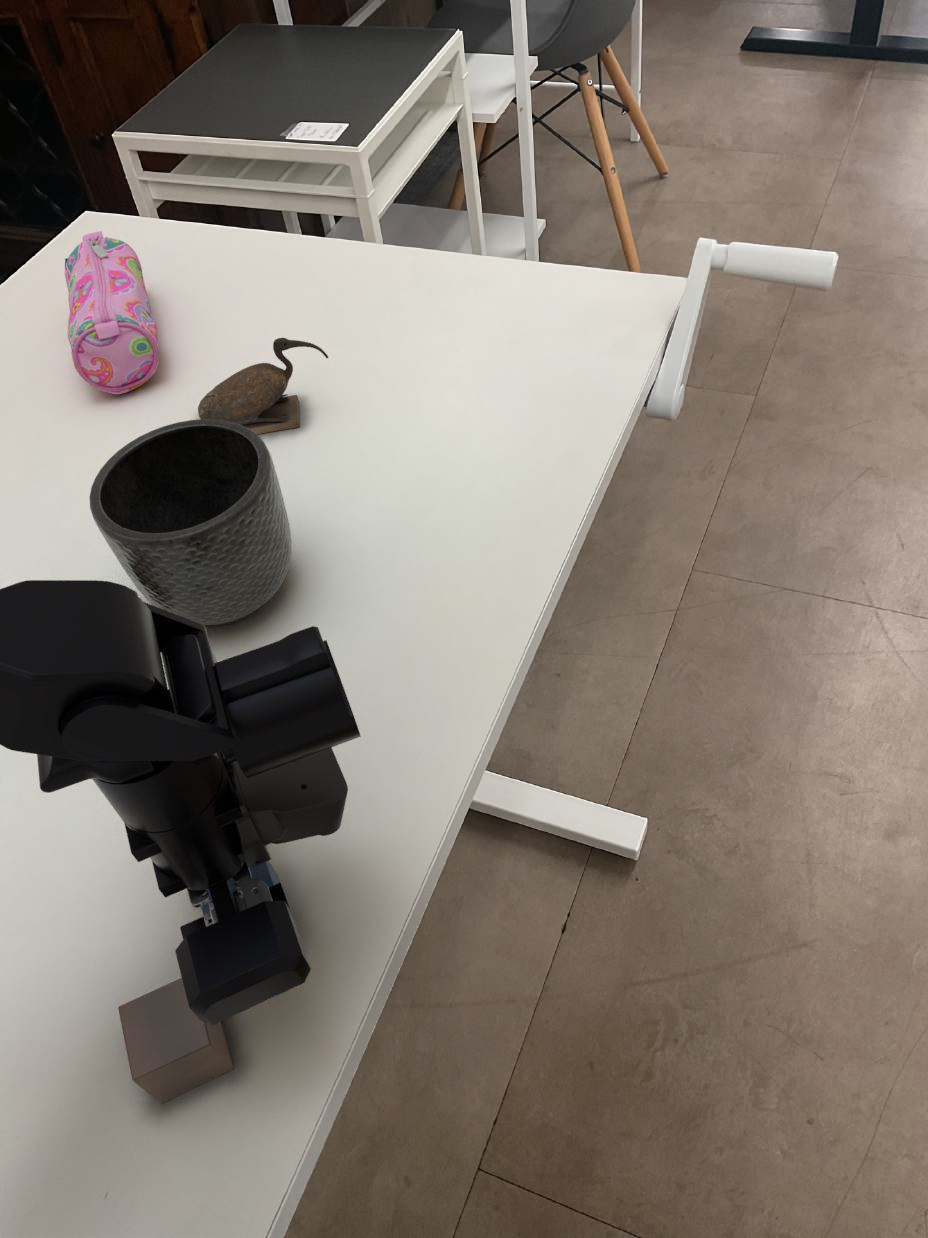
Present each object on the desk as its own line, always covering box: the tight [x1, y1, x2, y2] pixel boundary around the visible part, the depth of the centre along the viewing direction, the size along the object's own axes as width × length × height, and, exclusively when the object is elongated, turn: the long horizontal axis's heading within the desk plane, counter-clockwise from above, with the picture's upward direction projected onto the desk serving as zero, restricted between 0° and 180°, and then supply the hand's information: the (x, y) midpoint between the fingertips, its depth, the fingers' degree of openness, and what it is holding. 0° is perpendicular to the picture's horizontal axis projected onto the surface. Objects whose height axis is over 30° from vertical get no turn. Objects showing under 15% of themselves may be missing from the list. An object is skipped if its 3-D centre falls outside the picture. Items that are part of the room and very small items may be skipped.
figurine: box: [197, 337, 329, 435], centre depth 97 cm, size 14×4×9 cm, turn 97°
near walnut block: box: [117, 977, 234, 1105], centre depth 59 cm, size 4×4×4 cm
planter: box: [89, 418, 293, 626], centre depth 81 cm, size 14×14×13 cm
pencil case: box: [64, 231, 161, 395], centre depth 110 cm, size 21×9×9 cm, turn 17°
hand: (250, 913), depth 64 cm, fingers closed on blue block, 4 cm apart
